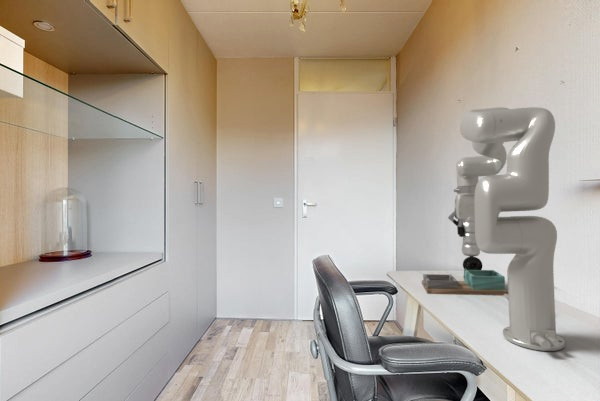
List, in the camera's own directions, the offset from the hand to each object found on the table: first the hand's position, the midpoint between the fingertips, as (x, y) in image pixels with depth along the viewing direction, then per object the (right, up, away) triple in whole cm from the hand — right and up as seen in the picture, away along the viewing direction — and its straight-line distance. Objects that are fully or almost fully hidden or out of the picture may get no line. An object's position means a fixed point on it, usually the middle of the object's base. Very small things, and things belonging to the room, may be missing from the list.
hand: (470, 235), depth 123 cm
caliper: (+6, -21, -19) cm, 29 cm away
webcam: (+10, -21, +16) cm, 28 cm away
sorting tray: (-3, -21, +1) cm, 22 cm away
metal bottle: (0, -8, 0) cm, 8 cm away
